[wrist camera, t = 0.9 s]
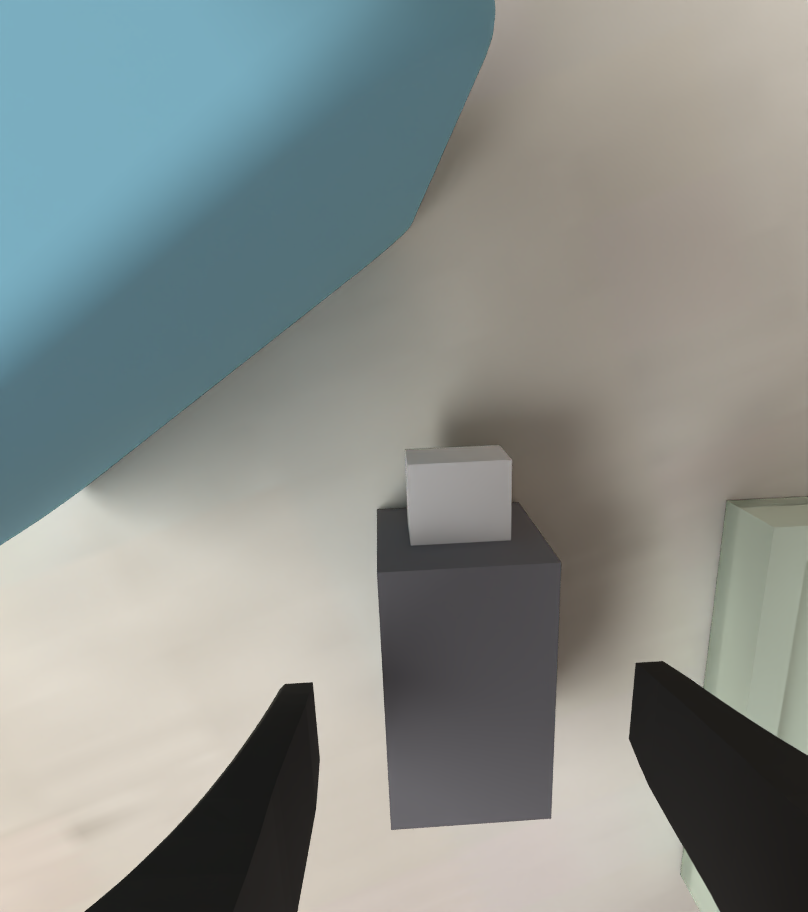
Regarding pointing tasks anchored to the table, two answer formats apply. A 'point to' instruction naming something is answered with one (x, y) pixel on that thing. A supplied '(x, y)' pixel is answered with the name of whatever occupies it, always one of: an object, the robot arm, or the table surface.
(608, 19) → the table surface
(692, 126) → the table surface
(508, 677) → the plug
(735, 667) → the tray
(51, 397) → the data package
